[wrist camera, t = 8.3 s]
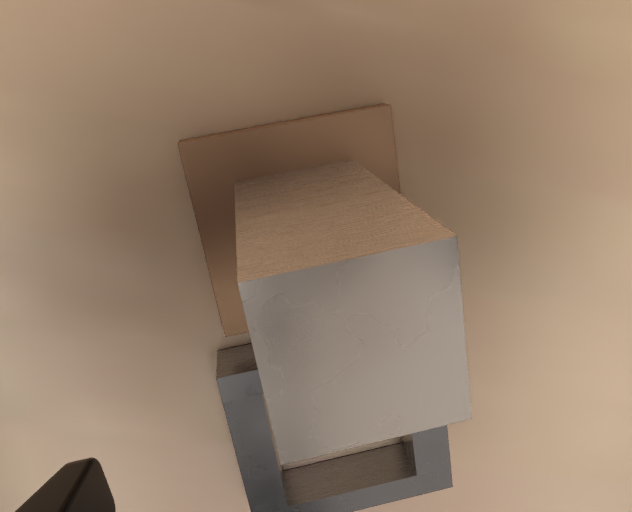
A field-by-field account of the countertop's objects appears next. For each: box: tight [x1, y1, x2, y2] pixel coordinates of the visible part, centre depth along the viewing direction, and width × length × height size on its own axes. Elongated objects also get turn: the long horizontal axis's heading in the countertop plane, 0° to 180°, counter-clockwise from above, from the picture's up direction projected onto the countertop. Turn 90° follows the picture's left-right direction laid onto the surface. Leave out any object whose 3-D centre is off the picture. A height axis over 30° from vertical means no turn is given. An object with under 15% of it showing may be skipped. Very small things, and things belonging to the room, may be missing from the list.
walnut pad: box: [178, 103, 401, 337], centre depth 19 cm, size 7×7×1 cm
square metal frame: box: [216, 343, 453, 512], centre depth 21 cm, size 7×8×2 cm
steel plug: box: [234, 159, 472, 465], centre depth 14 cm, size 4×4×9 cm
